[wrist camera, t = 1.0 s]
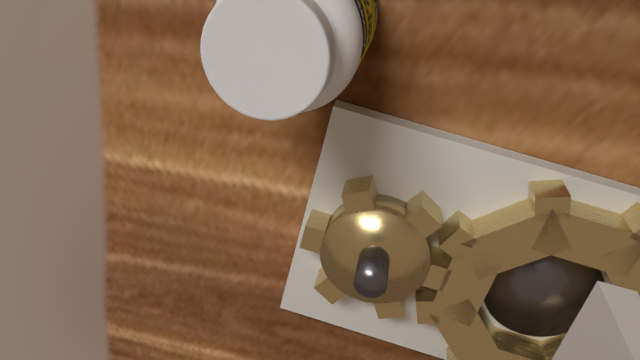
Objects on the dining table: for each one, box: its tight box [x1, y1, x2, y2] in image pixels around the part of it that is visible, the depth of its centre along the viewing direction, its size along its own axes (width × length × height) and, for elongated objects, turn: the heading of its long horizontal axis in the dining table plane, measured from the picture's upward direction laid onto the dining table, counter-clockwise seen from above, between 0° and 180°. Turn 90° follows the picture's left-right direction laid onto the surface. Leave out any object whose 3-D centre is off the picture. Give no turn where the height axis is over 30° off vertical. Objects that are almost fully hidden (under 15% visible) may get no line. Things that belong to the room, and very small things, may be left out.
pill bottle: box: [201, 0, 378, 121], centre depth 23 cm, size 6×6×11 cm
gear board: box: [280, 100, 640, 360], centre depth 32 cm, size 15×24×1 cm, turn 76°
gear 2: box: [415, 179, 640, 360], centre depth 30 cm, size 14×14×2 cm
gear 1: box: [299, 175, 452, 319], centre depth 30 cm, size 8×9×4 cm
